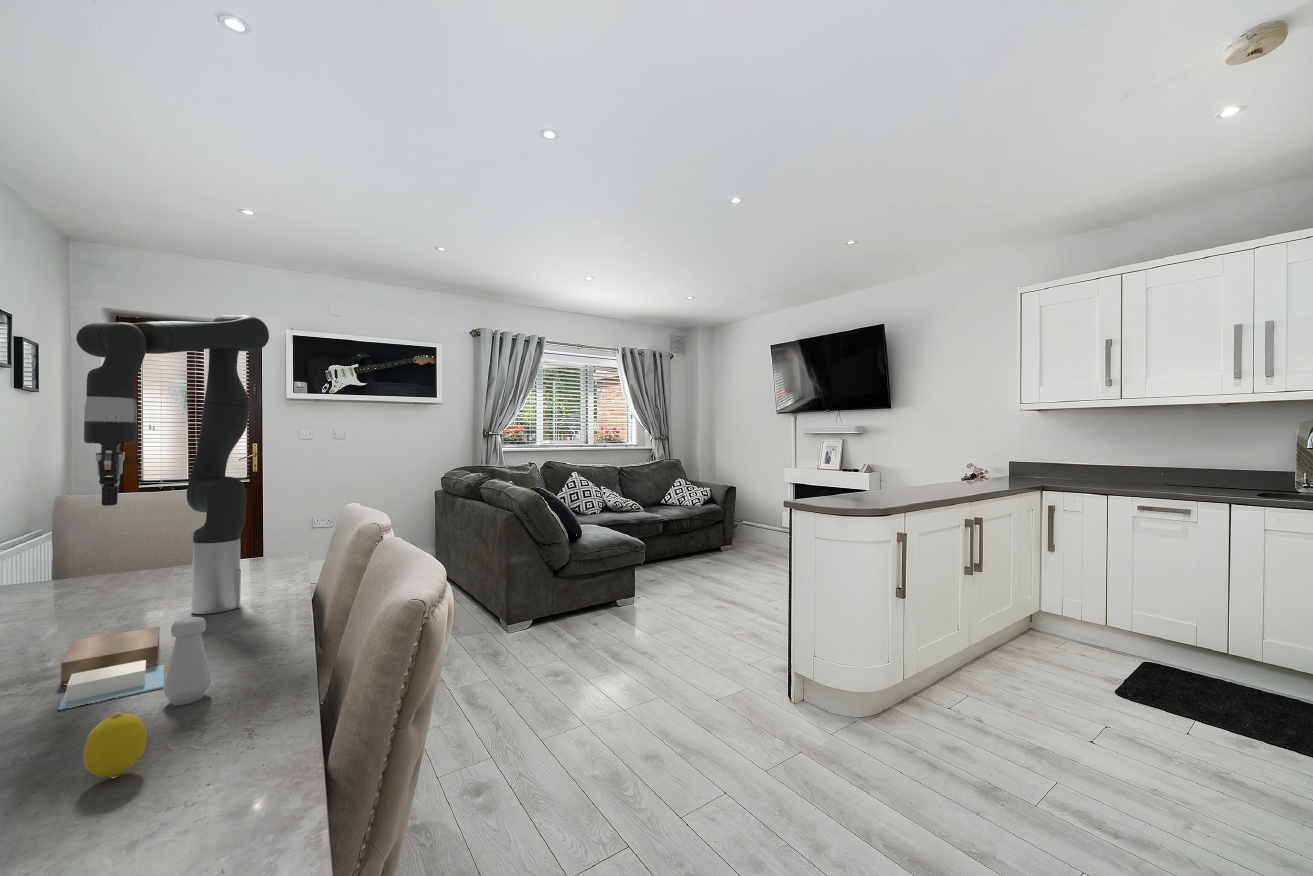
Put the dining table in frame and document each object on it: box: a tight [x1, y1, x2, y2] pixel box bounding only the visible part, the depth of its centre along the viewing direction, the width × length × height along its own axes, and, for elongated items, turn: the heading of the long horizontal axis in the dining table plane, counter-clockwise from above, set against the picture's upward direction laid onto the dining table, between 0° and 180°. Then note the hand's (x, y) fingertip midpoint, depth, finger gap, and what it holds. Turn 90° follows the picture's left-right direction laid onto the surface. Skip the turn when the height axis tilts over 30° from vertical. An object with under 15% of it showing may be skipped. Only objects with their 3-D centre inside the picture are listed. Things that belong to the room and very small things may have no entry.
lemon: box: [83, 711, 148, 779], centre depth 66 cm, size 6×6×8 cm
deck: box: [60, 626, 161, 686], centre depth 100 cm, size 12×14×4 cm
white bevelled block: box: [66, 660, 146, 702], centre depth 90 cm, size 9×6×2 cm, turn 133°
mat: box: [57, 664, 166, 711], centre depth 91 cm, size 12×12×1 cm
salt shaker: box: [163, 616, 212, 707], centre depth 87 cm, size 6×6×13 cm
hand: (109, 505), depth 109 cm, fingers closed
